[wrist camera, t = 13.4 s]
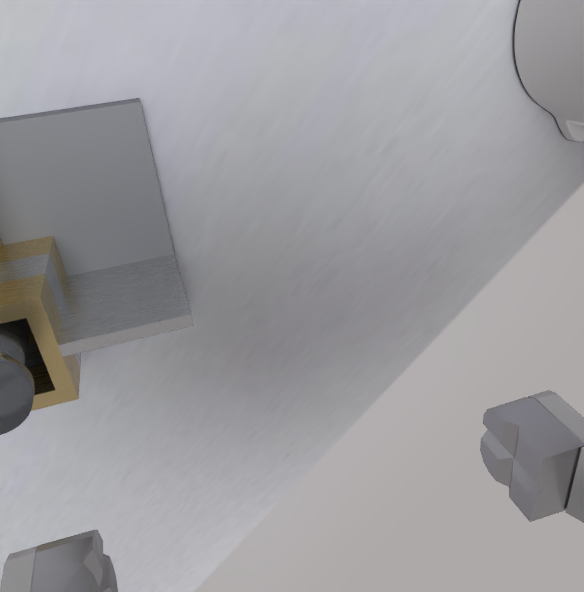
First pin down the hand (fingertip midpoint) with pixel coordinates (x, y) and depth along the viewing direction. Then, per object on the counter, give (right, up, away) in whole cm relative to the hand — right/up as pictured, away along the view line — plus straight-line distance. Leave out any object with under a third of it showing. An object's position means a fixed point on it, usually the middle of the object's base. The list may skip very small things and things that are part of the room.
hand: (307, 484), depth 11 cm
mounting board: (-17, +8, +27) cm, 33 cm away
